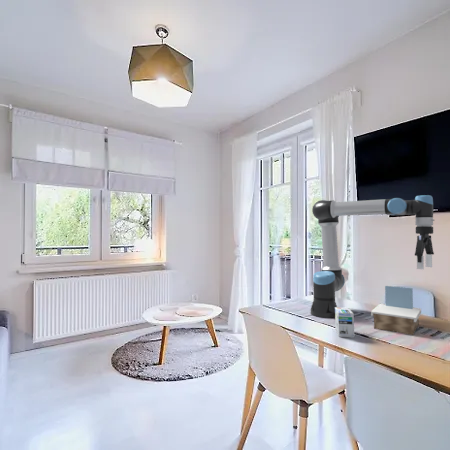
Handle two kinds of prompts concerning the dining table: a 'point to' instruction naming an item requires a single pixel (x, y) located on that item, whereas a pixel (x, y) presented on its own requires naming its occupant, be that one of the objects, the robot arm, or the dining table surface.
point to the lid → (398, 304)
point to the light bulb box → (344, 322)
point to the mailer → (395, 324)
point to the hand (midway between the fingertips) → (424, 268)
